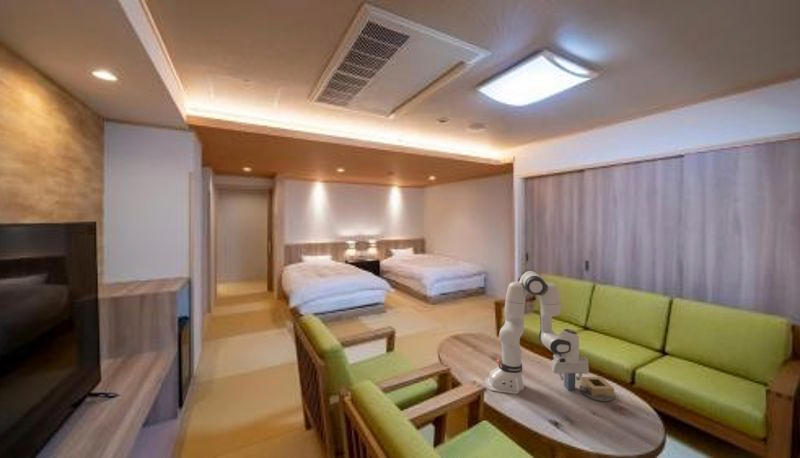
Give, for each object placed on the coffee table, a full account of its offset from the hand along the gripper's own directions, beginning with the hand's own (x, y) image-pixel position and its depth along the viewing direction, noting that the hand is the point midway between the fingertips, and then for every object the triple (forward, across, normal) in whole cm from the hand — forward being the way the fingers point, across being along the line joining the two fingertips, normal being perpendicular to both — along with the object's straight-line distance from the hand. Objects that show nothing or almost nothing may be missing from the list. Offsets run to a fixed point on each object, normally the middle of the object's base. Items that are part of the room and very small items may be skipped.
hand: (569, 379), depth 184 cm
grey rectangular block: (+5, 0, 0) cm, 5 cm away
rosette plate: (+5, -13, +4) cm, 15 cm away
